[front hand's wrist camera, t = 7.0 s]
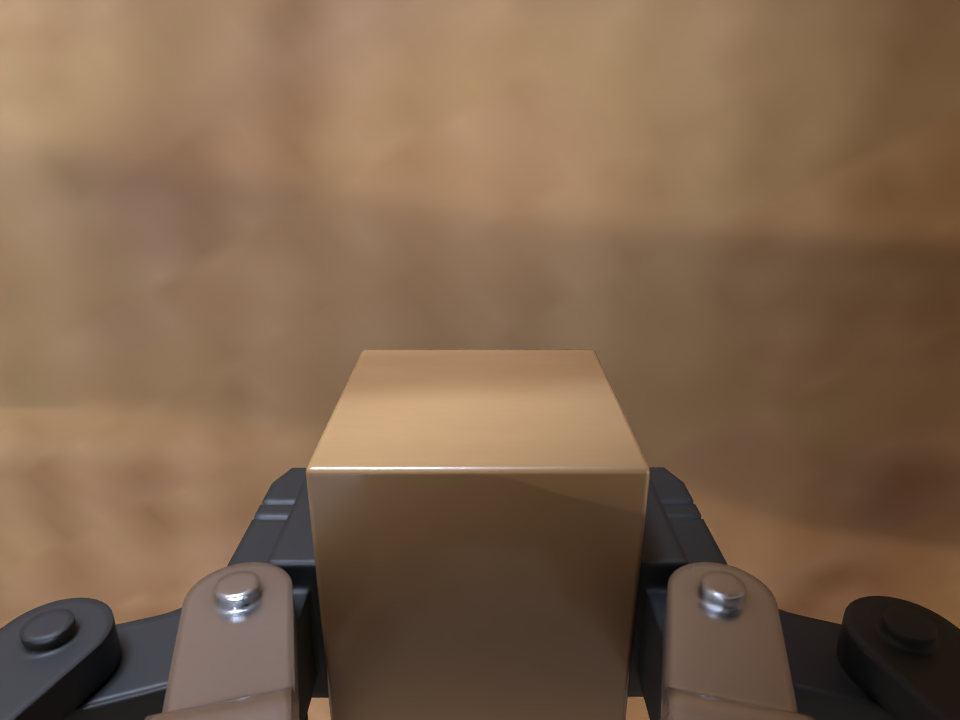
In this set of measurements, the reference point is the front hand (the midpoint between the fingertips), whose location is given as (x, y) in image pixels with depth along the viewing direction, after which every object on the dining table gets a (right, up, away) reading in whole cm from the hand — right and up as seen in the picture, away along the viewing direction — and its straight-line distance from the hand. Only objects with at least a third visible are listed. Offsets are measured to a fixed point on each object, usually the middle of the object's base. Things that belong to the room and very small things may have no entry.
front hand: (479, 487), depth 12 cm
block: (0, 0, 0) cm, 0 cm away
